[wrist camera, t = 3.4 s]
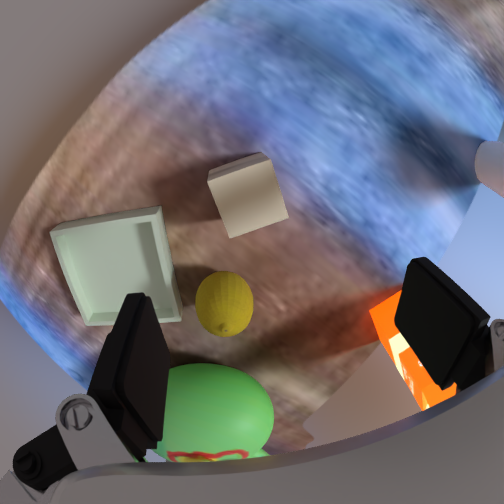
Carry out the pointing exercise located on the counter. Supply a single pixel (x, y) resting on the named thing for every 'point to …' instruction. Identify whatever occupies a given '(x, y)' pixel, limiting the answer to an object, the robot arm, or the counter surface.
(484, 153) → the foam cup
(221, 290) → the lemon
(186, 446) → the toy bird
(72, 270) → the tray
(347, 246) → the counter surface
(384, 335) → the orange juice
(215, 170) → the beech block
